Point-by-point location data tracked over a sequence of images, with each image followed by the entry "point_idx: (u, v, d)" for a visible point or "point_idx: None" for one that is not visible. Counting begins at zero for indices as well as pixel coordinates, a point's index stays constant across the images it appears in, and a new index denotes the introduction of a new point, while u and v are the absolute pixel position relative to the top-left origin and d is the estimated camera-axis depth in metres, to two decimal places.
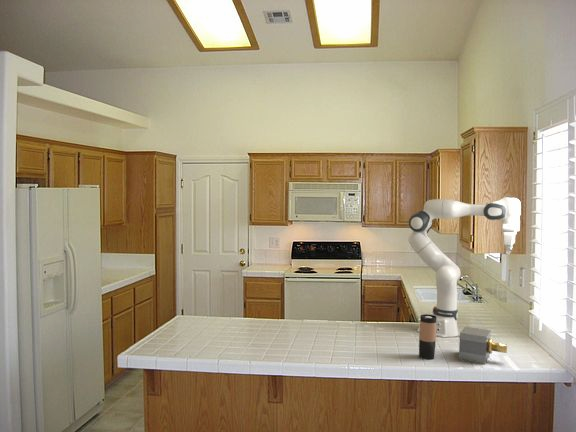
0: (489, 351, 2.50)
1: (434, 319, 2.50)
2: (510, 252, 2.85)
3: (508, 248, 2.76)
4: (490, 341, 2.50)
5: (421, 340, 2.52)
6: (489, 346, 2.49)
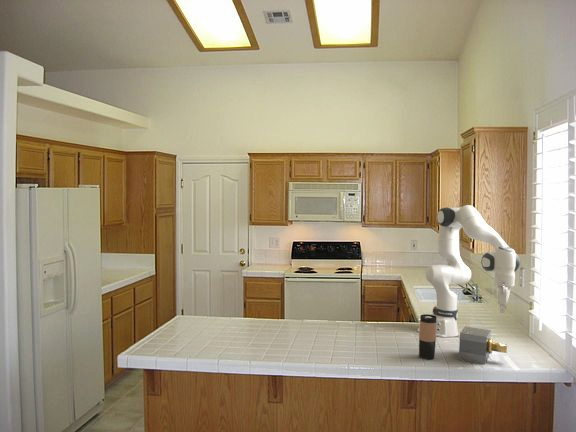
0: (489, 351, 2.50)
1: (434, 319, 2.50)
2: None
3: None
4: (490, 341, 2.50)
5: (421, 340, 2.52)
6: (489, 346, 2.49)
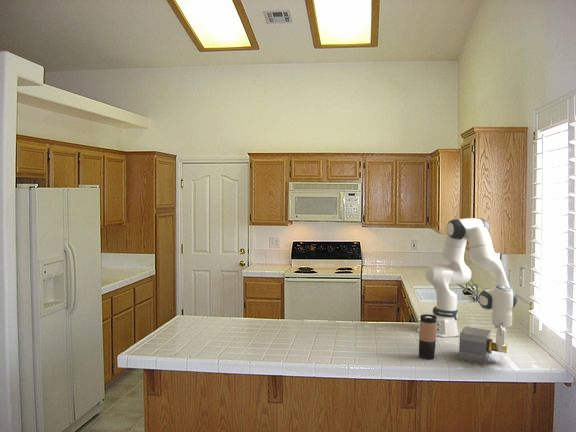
0: (489, 351, 2.50)
1: (434, 319, 2.50)
2: None
3: None
4: (490, 341, 2.50)
5: (421, 340, 2.52)
6: (489, 346, 2.49)
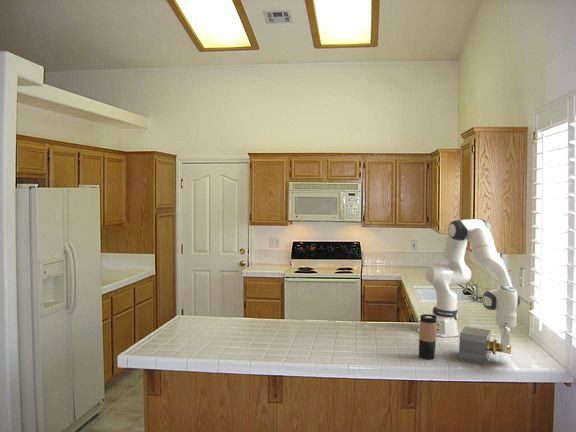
0: (493, 352, 2.49)
1: (434, 319, 2.50)
2: None
3: None
4: (494, 342, 2.49)
5: (421, 340, 2.52)
6: (493, 347, 2.48)
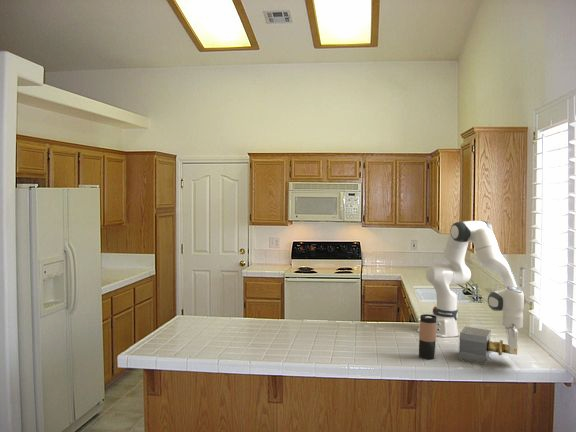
0: (499, 353, 2.48)
1: (434, 319, 2.50)
2: None
3: None
4: (500, 343, 2.48)
5: (421, 340, 2.52)
6: (499, 348, 2.47)
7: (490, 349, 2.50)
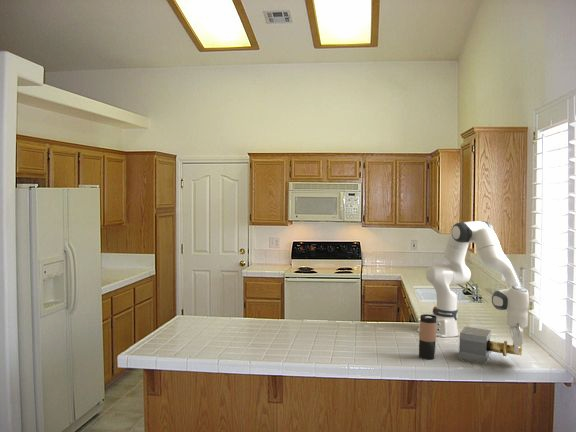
0: (504, 353, 2.47)
1: (434, 319, 2.50)
2: (515, 351, 2.45)
3: None
4: (505, 343, 2.47)
5: (421, 340, 2.52)
6: (504, 348, 2.46)
7: (494, 350, 2.49)
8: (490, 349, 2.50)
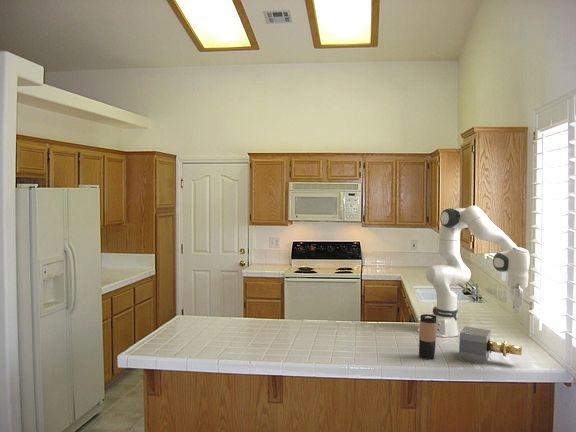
0: (504, 353, 2.47)
1: (434, 319, 2.50)
2: (515, 312, 2.47)
3: None
4: (505, 343, 2.47)
5: (421, 340, 2.52)
6: (504, 348, 2.46)
7: (494, 350, 2.49)
8: (490, 349, 2.50)
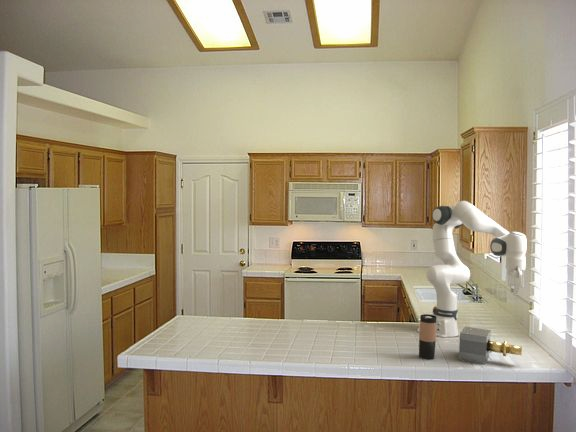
0: (504, 353, 2.47)
1: (434, 319, 2.50)
2: None
3: None
4: (505, 343, 2.47)
5: (421, 340, 2.52)
6: (504, 348, 2.46)
7: (494, 350, 2.49)
8: (490, 349, 2.50)
